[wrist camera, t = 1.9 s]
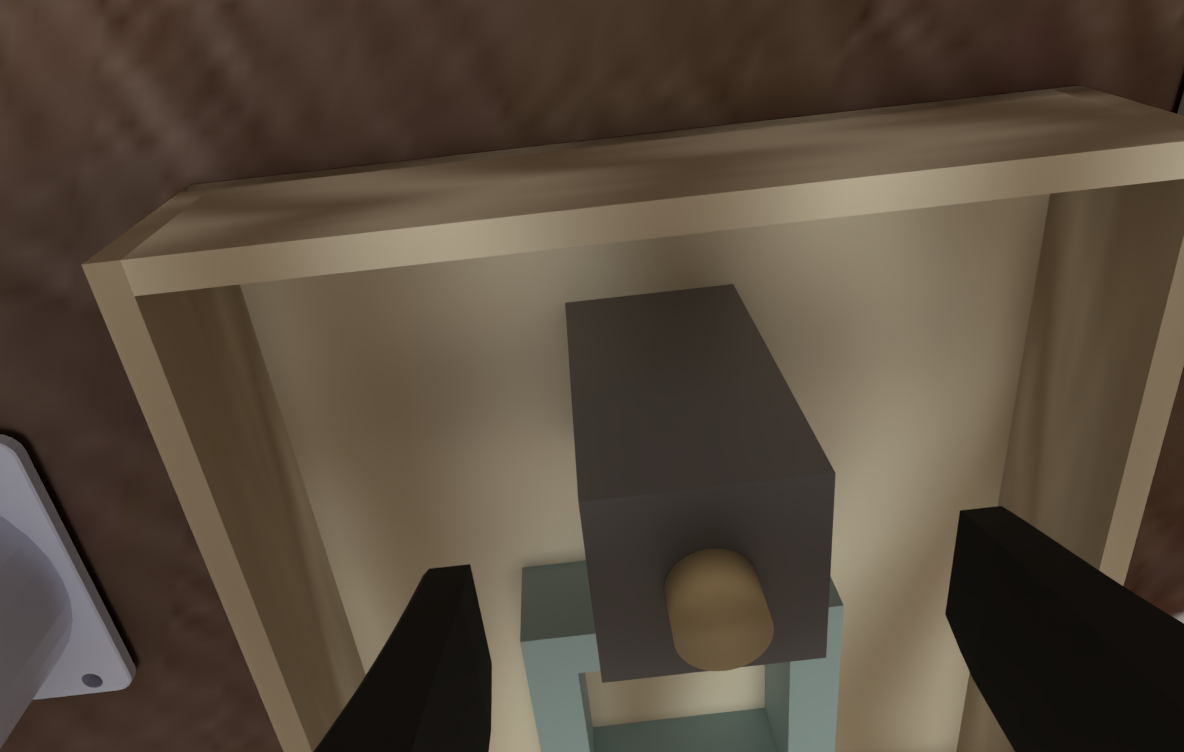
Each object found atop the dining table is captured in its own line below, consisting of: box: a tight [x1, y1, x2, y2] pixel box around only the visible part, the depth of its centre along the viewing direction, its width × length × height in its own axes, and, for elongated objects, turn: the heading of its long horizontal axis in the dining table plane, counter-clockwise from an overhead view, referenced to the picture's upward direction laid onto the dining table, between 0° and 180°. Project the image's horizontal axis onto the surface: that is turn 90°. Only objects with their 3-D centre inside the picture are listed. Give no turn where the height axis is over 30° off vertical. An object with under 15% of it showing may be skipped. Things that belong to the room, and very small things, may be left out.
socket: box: [520, 561, 844, 752], centre depth 22 cm, size 7×7×2 cm
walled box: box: [81, 85, 1184, 752], centre depth 20 cm, size 18×20×4 cm
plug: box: [565, 284, 836, 683], centre depth 15 cm, size 4×4×8 cm
